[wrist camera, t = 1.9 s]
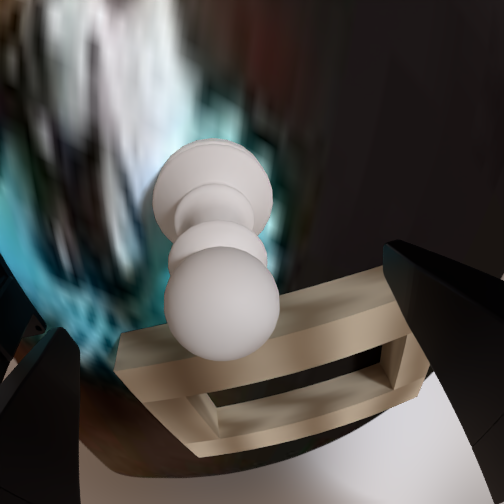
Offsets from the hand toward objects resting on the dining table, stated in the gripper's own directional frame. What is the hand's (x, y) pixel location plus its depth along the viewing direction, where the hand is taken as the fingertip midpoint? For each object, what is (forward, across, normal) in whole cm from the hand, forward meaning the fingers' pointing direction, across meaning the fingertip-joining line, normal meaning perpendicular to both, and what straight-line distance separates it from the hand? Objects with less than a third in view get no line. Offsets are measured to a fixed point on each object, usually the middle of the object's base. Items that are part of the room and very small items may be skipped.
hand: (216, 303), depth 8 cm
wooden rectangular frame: (+8, -2, +14) cm, 16 cm away
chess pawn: (+8, 0, 0) cm, 8 cm away
